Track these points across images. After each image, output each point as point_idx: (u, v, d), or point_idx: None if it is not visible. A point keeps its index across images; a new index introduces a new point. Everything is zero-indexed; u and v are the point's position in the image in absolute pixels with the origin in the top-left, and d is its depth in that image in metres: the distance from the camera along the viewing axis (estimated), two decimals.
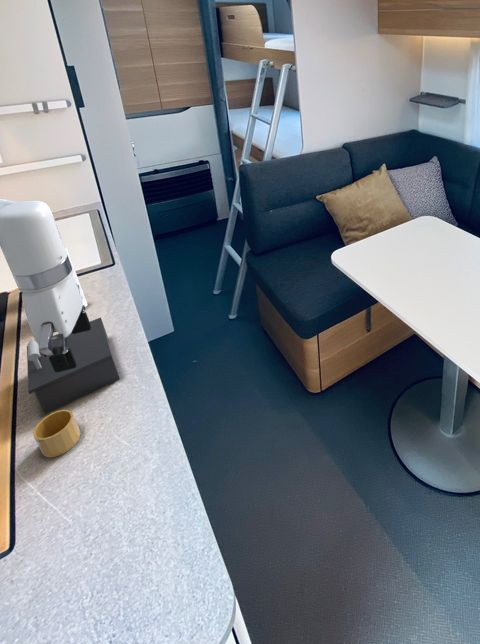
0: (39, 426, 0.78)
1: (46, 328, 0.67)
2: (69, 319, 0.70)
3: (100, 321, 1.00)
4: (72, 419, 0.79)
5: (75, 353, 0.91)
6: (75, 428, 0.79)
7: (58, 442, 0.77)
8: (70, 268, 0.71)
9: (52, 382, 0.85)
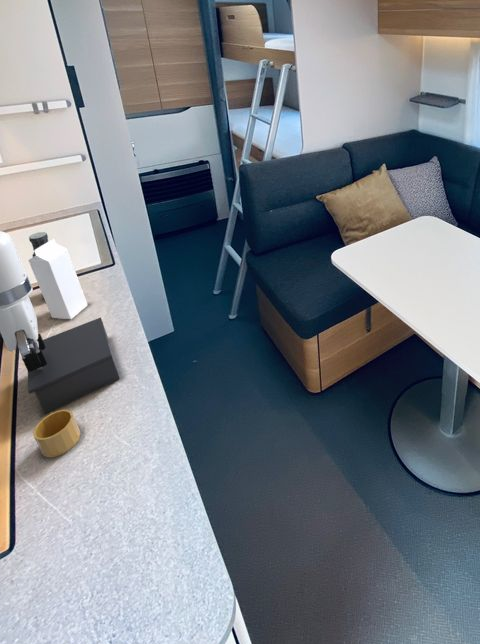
0: (39, 426, 0.78)
1: (21, 337, 0.81)
2: (35, 327, 0.84)
3: (100, 321, 1.00)
4: (72, 419, 0.79)
5: (75, 353, 0.91)
6: (75, 428, 0.79)
7: (58, 442, 0.77)
8: (30, 284, 0.84)
9: (52, 382, 0.85)
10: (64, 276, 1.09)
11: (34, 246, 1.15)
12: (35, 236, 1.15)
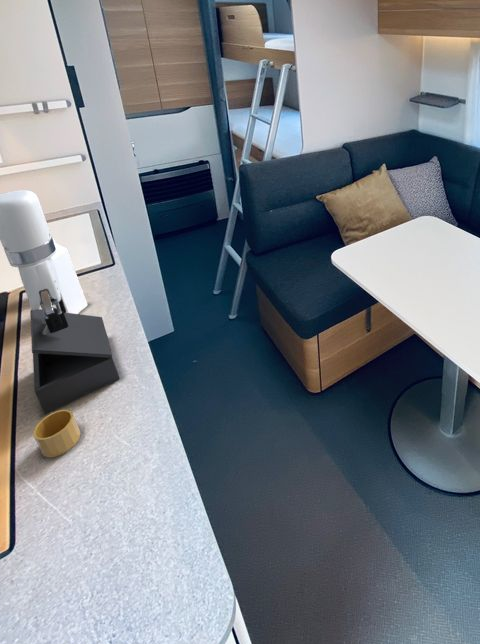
0: (39, 426, 0.78)
1: (45, 296, 0.81)
2: (58, 288, 0.85)
3: (101, 320, 1.01)
4: (72, 419, 0.79)
5: (78, 337, 0.91)
6: (75, 428, 0.79)
7: (58, 442, 0.77)
8: (54, 245, 0.85)
9: (55, 352, 0.83)
10: (64, 276, 1.09)
11: None
12: None
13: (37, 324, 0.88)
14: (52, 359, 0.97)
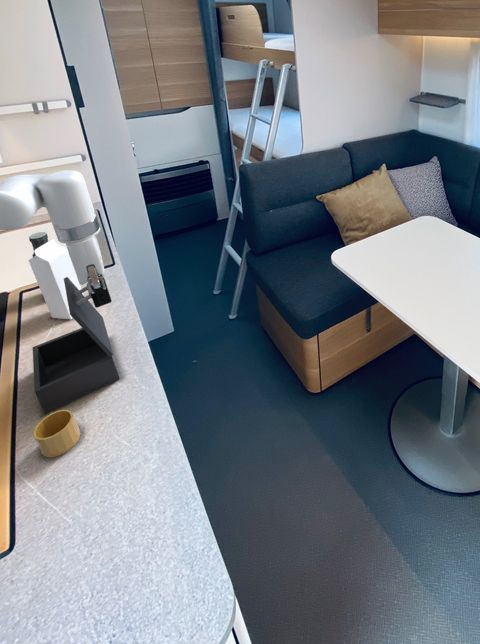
0: (39, 426, 0.78)
1: (92, 271, 0.86)
2: None
3: (103, 320, 1.01)
4: (72, 419, 0.79)
5: (94, 323, 0.92)
6: (75, 428, 0.79)
7: (58, 442, 0.77)
8: (98, 223, 0.89)
9: (83, 325, 0.85)
10: (64, 276, 1.09)
11: (34, 246, 1.15)
12: (35, 236, 1.14)
13: (72, 292, 0.90)
14: (52, 359, 0.97)
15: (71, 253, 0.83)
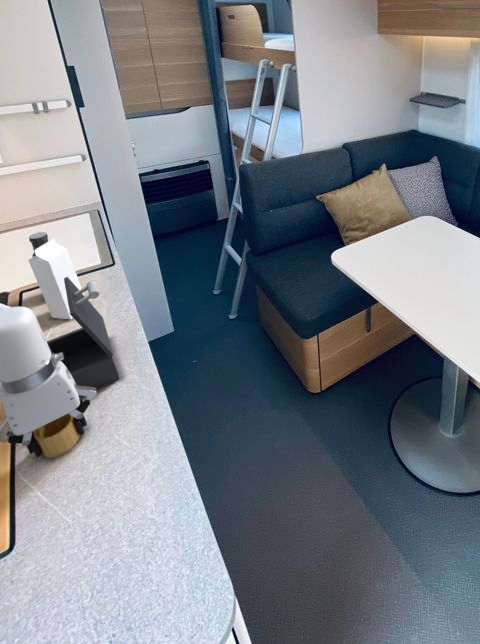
0: None
1: (5, 421, 0.73)
2: (23, 424, 0.73)
3: (103, 320, 1.01)
4: (72, 419, 0.79)
5: (94, 323, 0.92)
6: (75, 428, 0.79)
7: (58, 442, 0.77)
8: (31, 386, 0.70)
9: (83, 325, 0.85)
10: (64, 276, 1.09)
11: (34, 246, 1.15)
12: (35, 236, 1.15)
13: (72, 292, 0.90)
14: None
15: None
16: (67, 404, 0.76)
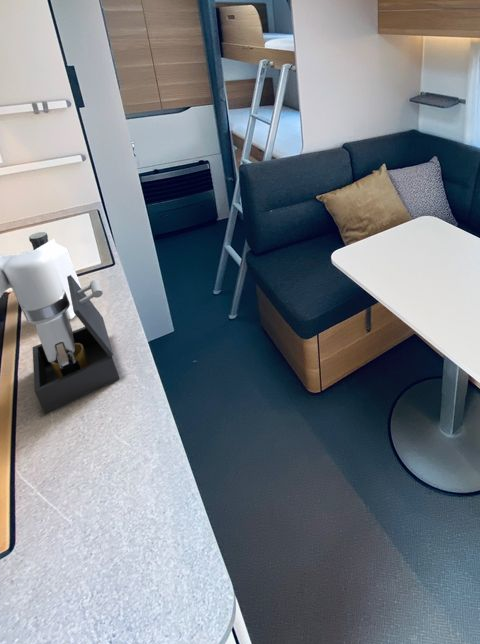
0: None
1: (60, 349, 0.86)
2: (72, 339, 0.89)
3: (103, 320, 1.01)
4: None
5: (95, 322, 0.92)
6: None
7: (85, 352, 0.95)
8: (67, 299, 0.89)
9: (85, 323, 0.85)
10: (64, 276, 1.09)
11: (34, 246, 1.15)
12: (35, 236, 1.14)
13: (75, 291, 0.91)
14: None
15: (39, 333, 0.84)
16: None
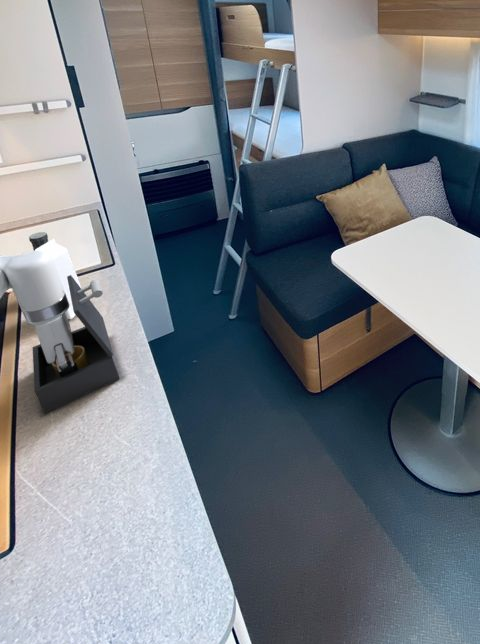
0: None
1: (59, 348, 0.85)
2: (72, 340, 0.89)
3: (103, 320, 1.01)
4: None
5: (95, 322, 0.92)
6: None
7: (86, 355, 0.95)
8: (67, 300, 0.89)
9: (85, 323, 0.85)
10: (64, 276, 1.09)
11: (34, 246, 1.15)
12: (35, 236, 1.14)
13: (75, 291, 0.91)
14: None
15: (38, 334, 0.84)
16: None
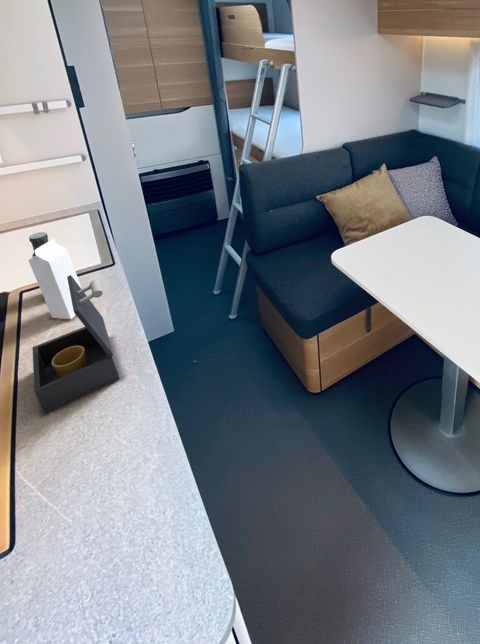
0: None
1: None
2: None
3: (103, 320, 1.01)
4: None
5: (95, 322, 0.92)
6: None
7: (86, 355, 0.95)
8: None
9: (85, 323, 0.85)
10: (64, 276, 1.09)
11: (34, 246, 1.15)
12: (35, 236, 1.15)
13: (75, 291, 0.91)
14: (52, 359, 0.97)
15: None
16: None
